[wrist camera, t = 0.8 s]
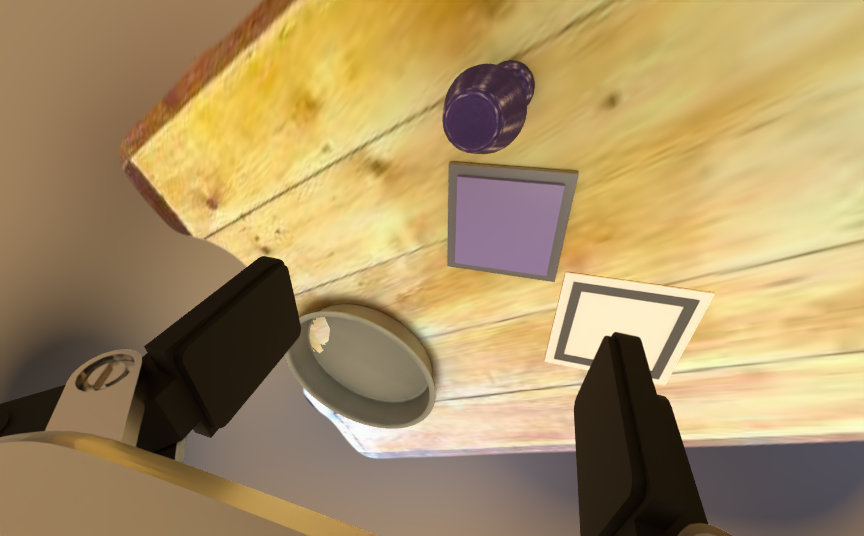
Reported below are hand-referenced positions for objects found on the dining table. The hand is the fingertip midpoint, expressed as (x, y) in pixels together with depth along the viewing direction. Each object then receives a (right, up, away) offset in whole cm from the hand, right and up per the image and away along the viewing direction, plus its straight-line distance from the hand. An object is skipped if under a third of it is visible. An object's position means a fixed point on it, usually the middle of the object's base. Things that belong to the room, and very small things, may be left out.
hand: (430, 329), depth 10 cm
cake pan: (-10, -12, +46) cm, 49 cm away
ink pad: (+8, +7, +27) cm, 29 cm away
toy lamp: (+7, +18, +20) cm, 28 cm away
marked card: (+21, -5, +30) cm, 37 cm away
